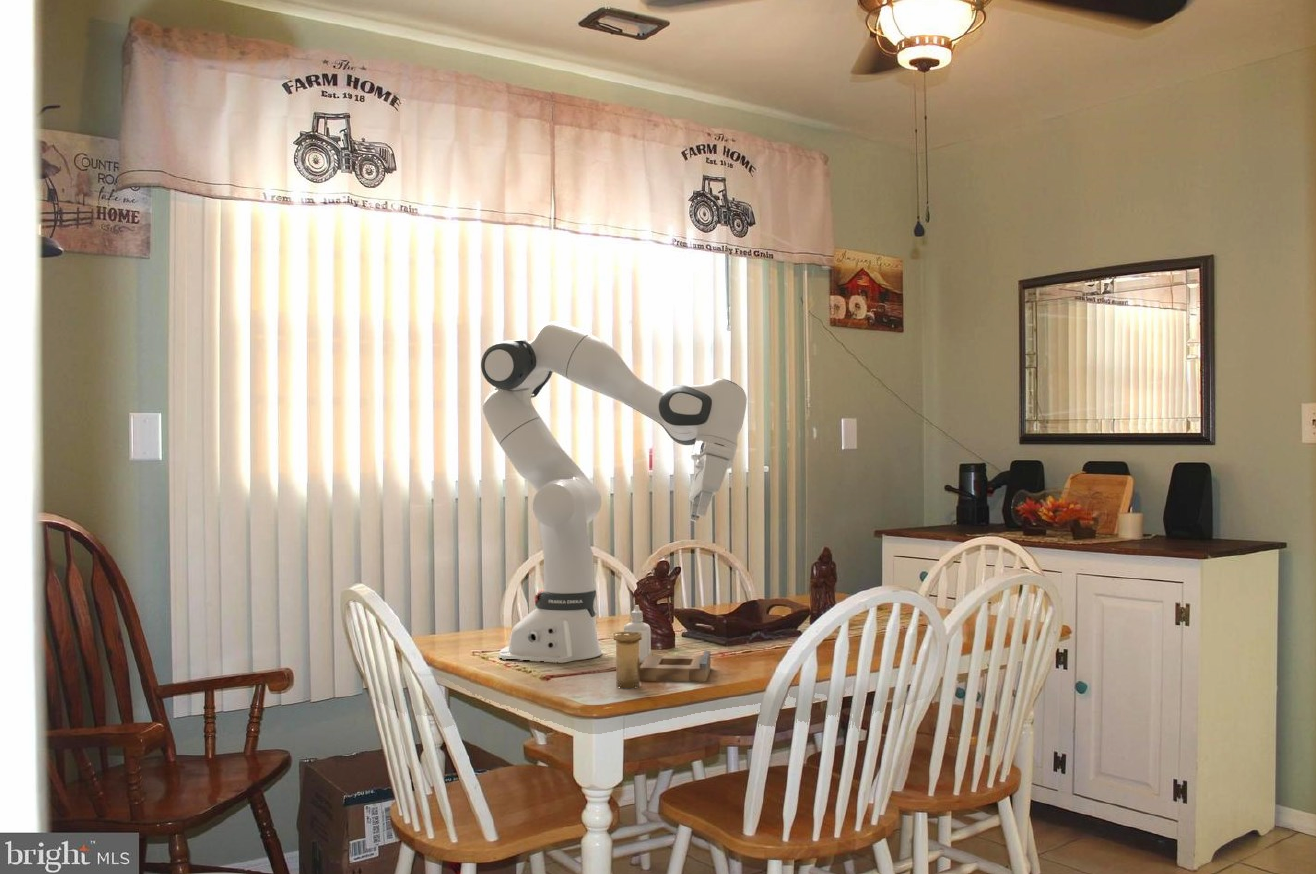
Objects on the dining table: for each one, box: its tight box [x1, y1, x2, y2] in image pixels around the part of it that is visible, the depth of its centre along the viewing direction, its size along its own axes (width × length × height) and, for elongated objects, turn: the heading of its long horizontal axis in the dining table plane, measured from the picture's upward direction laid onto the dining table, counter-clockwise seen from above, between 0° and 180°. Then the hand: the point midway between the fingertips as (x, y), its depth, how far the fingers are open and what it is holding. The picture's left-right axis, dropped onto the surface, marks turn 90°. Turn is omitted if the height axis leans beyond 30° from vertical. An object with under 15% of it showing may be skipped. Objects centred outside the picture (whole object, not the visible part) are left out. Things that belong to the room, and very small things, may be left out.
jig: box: [640, 650, 711, 683], centre depth 207 cm, size 13×13×4 cm
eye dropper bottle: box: [623, 604, 652, 664], centre depth 221 cm, size 4×6×12 cm
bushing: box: [613, 630, 642, 689], centre depth 197 cm, size 5×5×10 cm
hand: (697, 518), depth 214 cm, fingers open, 8 cm apart
